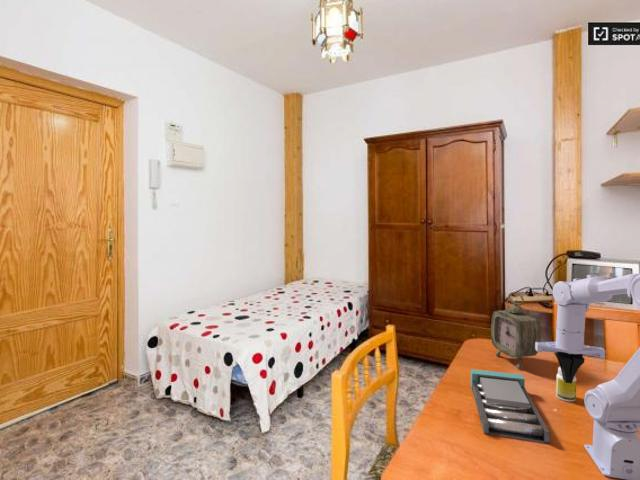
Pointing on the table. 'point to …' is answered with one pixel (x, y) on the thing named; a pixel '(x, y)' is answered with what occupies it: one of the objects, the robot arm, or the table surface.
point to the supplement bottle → (565, 388)
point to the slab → (503, 392)
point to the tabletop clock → (515, 332)
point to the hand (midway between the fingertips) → (567, 381)
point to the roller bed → (504, 434)
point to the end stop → (496, 376)
